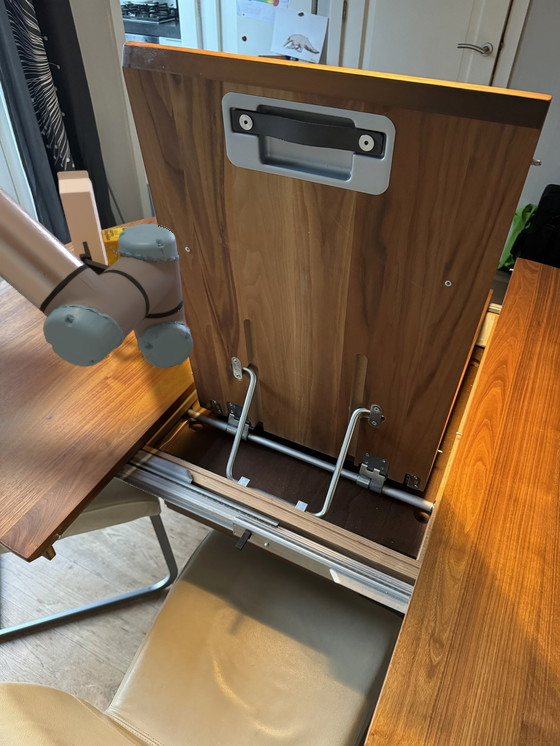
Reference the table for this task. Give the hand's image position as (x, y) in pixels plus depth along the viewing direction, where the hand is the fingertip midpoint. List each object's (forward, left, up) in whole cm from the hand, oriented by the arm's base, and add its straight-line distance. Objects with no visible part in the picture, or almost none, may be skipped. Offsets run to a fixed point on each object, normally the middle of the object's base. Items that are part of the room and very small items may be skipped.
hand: (122, 242), depth 99 cm
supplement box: (-6, +7, -14) cm, 17 cm away
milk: (-17, +11, -14) cm, 25 cm away
